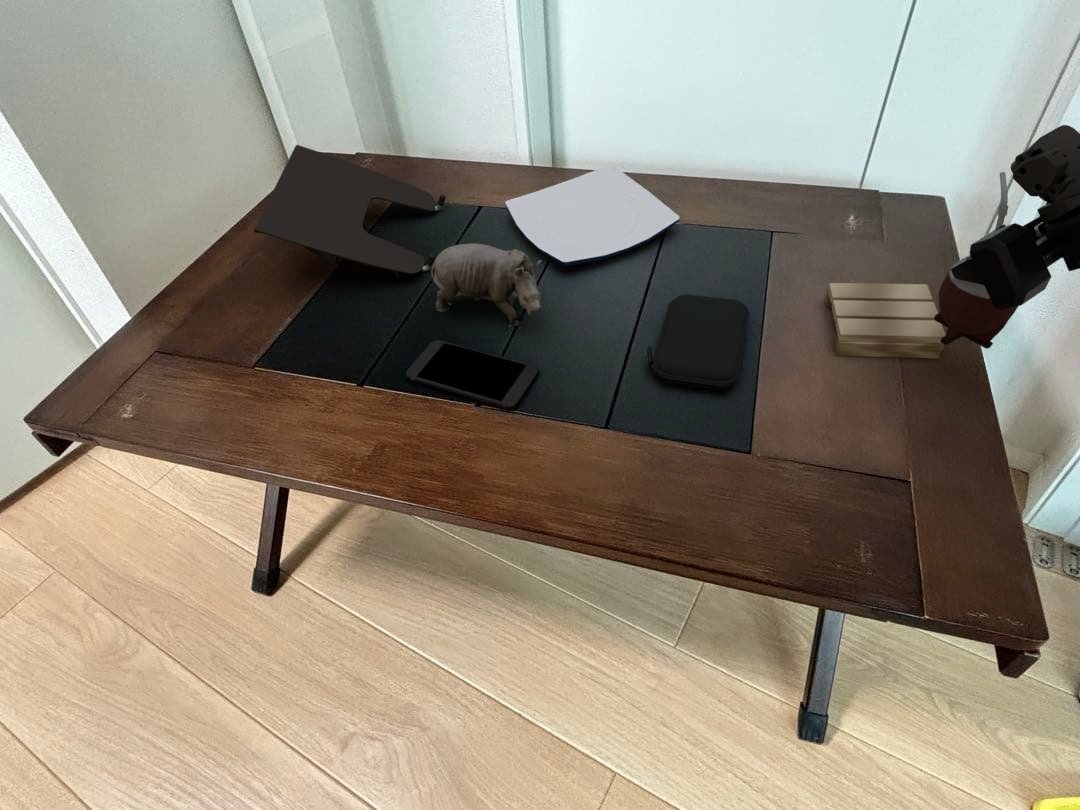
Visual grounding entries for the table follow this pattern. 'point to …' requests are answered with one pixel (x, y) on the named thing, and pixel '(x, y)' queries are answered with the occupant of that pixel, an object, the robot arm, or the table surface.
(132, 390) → the table surface
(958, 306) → the mate gourd
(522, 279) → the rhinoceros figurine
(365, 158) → the table surface
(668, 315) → the carrying case
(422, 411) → the table surface
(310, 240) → the laptop tray
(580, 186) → the plate
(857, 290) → the rack
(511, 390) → the smartphone
